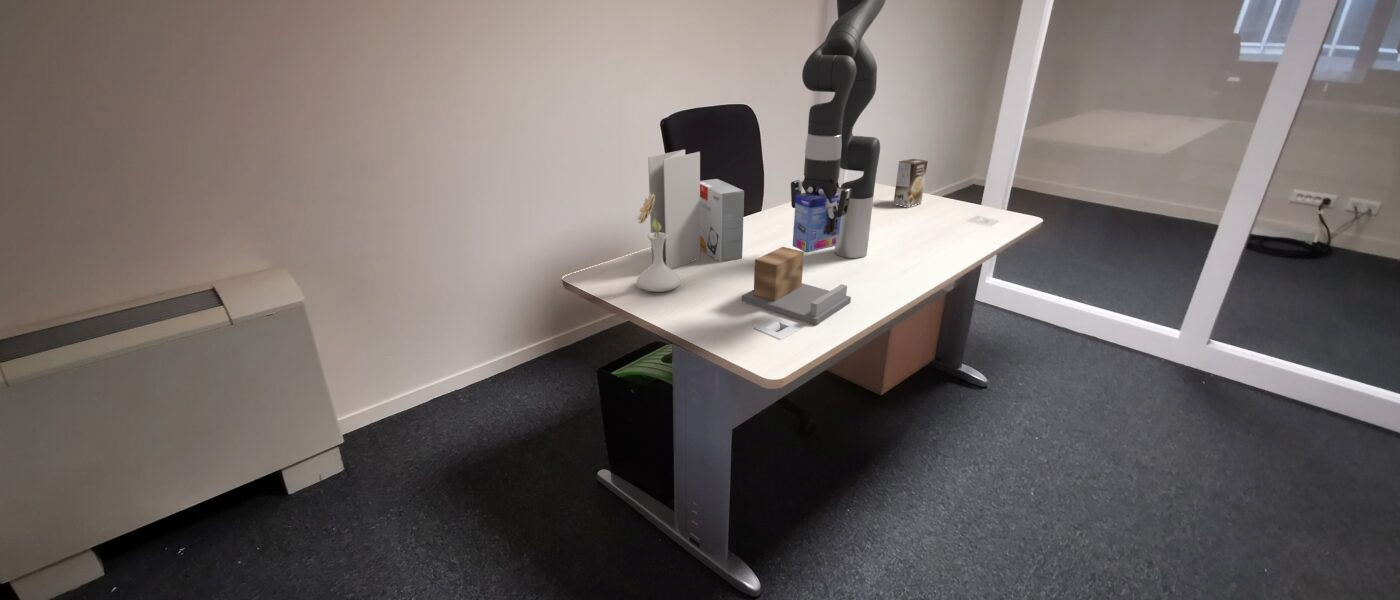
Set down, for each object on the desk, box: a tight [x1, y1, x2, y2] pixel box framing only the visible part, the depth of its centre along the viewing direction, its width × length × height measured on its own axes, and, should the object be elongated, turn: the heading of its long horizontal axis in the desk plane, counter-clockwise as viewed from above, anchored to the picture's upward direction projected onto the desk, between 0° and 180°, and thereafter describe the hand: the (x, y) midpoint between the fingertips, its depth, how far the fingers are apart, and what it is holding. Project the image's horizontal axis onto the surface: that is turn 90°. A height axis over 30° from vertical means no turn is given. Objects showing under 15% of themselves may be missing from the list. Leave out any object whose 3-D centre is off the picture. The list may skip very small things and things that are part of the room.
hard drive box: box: [700, 178, 745, 263], centre depth 178 cm, size 16×8×20 cm, turn 27°
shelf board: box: [741, 282, 852, 326], centre depth 149 cm, size 16×20×4 cm
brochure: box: [647, 149, 701, 270], centre depth 168 cm, size 14×6×30 cm, turn 141°
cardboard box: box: [753, 246, 805, 301], centre depth 150 cm, size 12×6×9 cm, turn 140°
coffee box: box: [892, 158, 929, 208], centre depth 227 cm, size 9×6×16 cm
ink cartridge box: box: [792, 185, 841, 253], centre depth 138 cm, size 10×6×14 cm, turn 123°
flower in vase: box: [635, 193, 682, 293], centre depth 152 cm, size 13×11×25 cm
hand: (817, 230), depth 140 cm, fingers closed on ink cartridge box, 6 cm apart
